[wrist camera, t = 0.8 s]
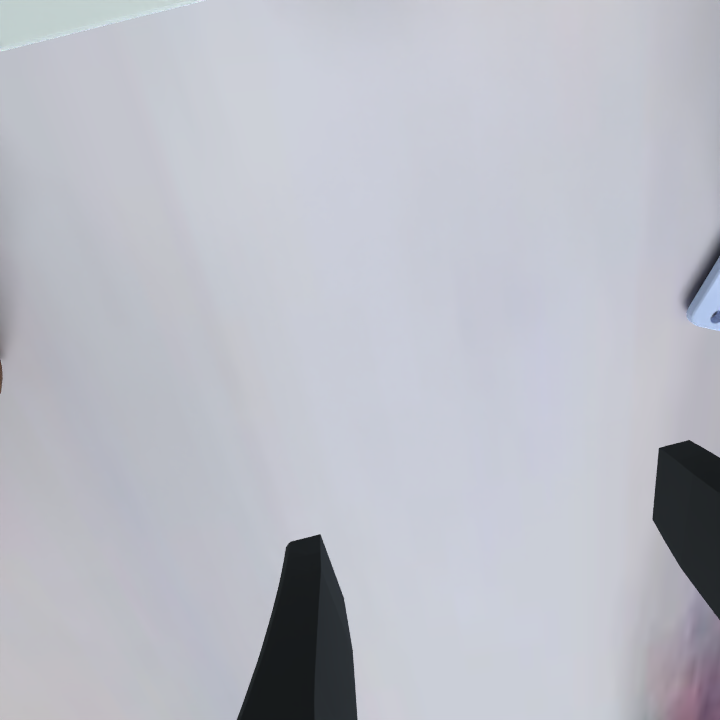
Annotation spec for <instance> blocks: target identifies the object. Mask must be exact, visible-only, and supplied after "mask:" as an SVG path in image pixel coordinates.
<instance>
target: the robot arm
mask: <svg viewBox="0 0 720 720" xmlns="http://www.w3.org/2000/svg"><path fill="white" fill-rule="evenodd" d="M716 311H717V313H716V314H715V315H714V316H713V317H711V316H712V315H713V314H714V312H716ZM687 318H688V320H689V321H690V322H692V323H693V324H695V325H697V326H700V327H704V328H709V329H713V330H717V331H720V257H719V258H718V260H717V262H716V263H715V265H714V267H713V268H712V270H711V271H710V273H709V275H708V276H707V278H706V280H705V281H704V283H703V285H702V286H701V288H700V290H699V291H698V293H697V294H696V296H695V298H694V299H693V301H692V303H691V304H690V306H689V308H688V310H687ZM653 521H654V523H655V524H656V526H657V528H658V530H659V532H660V533H661V535H662V537H663V539H664V540H665V542H666V544H667V546H668V547H669V549H670V551H671V552H672V554H673V556H674V557H675V559H676V561H677V562H678V564H679V566H680V567H681V569H682V570H683V571H684V573H685V574H686V575H687V577H688V578H689V580H690V581H691V582H692V584H693V585H694V586H695V588H696V589H697V590H698V592H699V593H700V594H701V596H702V597H703V598H704V600H705V601H706V602H707V604H708V605H709V606H710V608H711V609H712V610H713V612H714V613H715V614H716V616H717V617H718V618H719V620H720V458H719V457H718V456H716V455H714V454H713V453H711V452H709V451H707V450H706V449H704V448H702V447H701V446H699V445H697V444H695V443H693V442H692V441H690V440H688V441H684V442H680V443H676V444H672V445H668V446H665V447H661V448H659V454H658V465H657V476H656V486H655V497H654V508H653ZM237 720H357V707H356V692H355V678H354V663H353V650H352V644H351V638H350V632H349V626H348V620H347V614H346V608H345V603H344V597H343V595H342V592H341V589H340V587H339V584H338V581H337V578H336V576H335V573H334V570H333V567H332V565H331V562H330V559H329V556H328V554H327V551H326V548H325V546H324V543H323V540H322V537H321V535H316V536H312V537H308V538H304V539H300V540H296V541H292V542H290V543H289V544H288V545H287V547H286V551H285V557H284V563H283V568H282V573H281V578H280V582H279V587H278V591H277V595H276V599H275V603H274V607H273V611H272V614H271V618H270V621H269V625H268V628H267V632H266V635H265V638H264V642H263V645H262V649H261V652H260V655H259V658H258V662H257V664H256V667H255V670H254V673H253V676H252V679H251V682H250V685H249V687H248V690H247V693H246V696H245V699H244V702H243V705H242V707H241V710H240V713H239V715H238V718H237Z"/></svg>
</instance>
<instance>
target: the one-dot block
mask: <svg viewBox="0 0 720 720" xmlns="http://www.w3.org/2000/svg"><path fill="white" fill-rule="evenodd" d="M201 1H205V0H0V52H1V51H5V50H9V49H13V48H17V47H21V46H25V45H29V44H33V43H37V42H41V41H45V40H49V39H53V38H57V37H61V36H65V35H69V34H73V33H77V32H81V31H85V30H89V29H93V28H97V27H101V26H105V25H109V24H113V23H117V22H121V21H125V20H129V19H133V18H137V17H141V16H145V15H149V14H153V13H157V12H161V11H165V10H169V9H173V8H177V7H181V6H185V5H189V4H193V3H197V2H201Z"/></svg>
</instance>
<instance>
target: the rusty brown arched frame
mask: <svg viewBox="0 0 720 720" xmlns="http://www.w3.org/2000/svg"><path fill="white" fill-rule="evenodd" d="M1 387H2V365H1V361H0V393H1Z"/></svg>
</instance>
